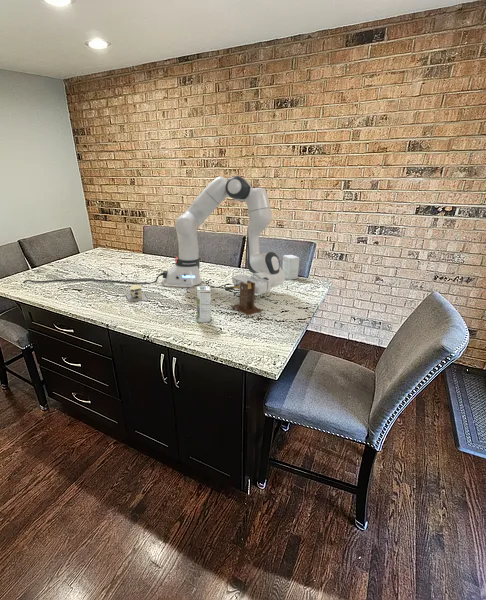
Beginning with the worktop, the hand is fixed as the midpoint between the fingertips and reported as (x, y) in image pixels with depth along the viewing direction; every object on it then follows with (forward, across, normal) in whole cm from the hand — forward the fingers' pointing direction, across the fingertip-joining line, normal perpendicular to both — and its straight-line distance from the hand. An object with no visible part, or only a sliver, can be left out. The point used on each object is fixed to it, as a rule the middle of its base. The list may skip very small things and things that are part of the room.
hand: (236, 286), depth 161 cm
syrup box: (+23, +7, +8) cm, 26 cm away
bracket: (+2, +10, +8) cm, 14 cm away
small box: (-52, -15, +9) cm, 55 cm away
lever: (+2, +6, -1) cm, 6 cm away
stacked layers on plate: (+37, -34, +9) cm, 51 cm away
